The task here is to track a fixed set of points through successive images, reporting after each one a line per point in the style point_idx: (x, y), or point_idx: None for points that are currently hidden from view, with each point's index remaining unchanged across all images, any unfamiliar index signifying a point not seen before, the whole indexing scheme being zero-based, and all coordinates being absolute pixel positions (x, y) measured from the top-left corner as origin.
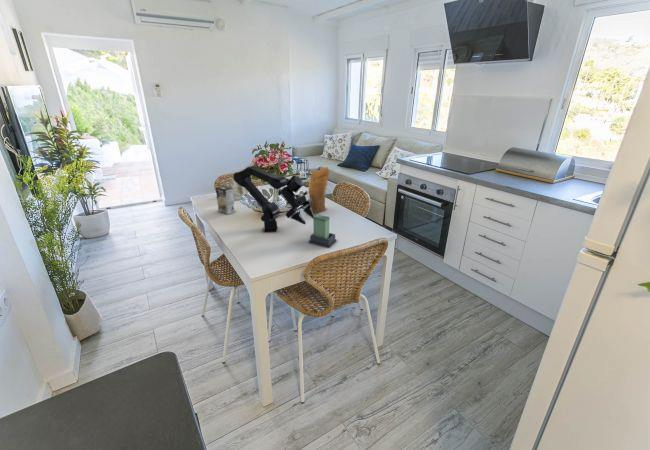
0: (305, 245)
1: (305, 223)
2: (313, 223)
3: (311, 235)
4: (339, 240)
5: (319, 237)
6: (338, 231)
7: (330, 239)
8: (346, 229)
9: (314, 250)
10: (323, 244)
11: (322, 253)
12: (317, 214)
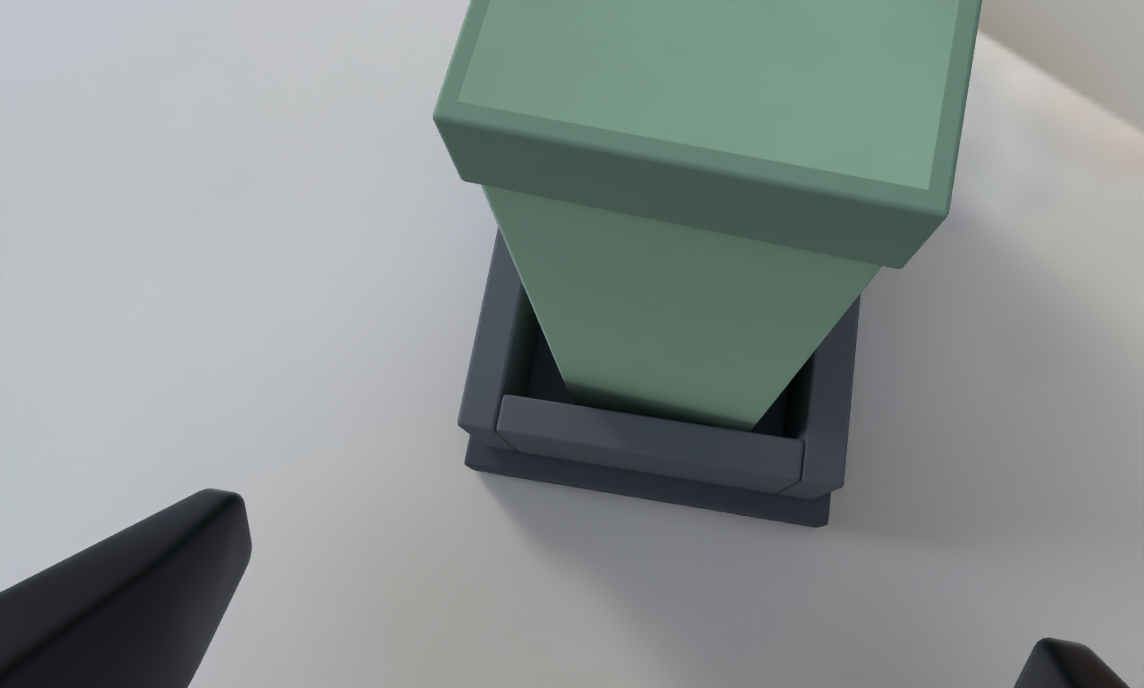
0: (972, 558)
1: (1078, 647)
2: (828, 331)
3: (824, 456)
4: None
5: None
6: (135, 143)
7: None
8: (24, 41)
9: (1096, 302)
10: None
11: (1135, 129)
12: (490, 101)
